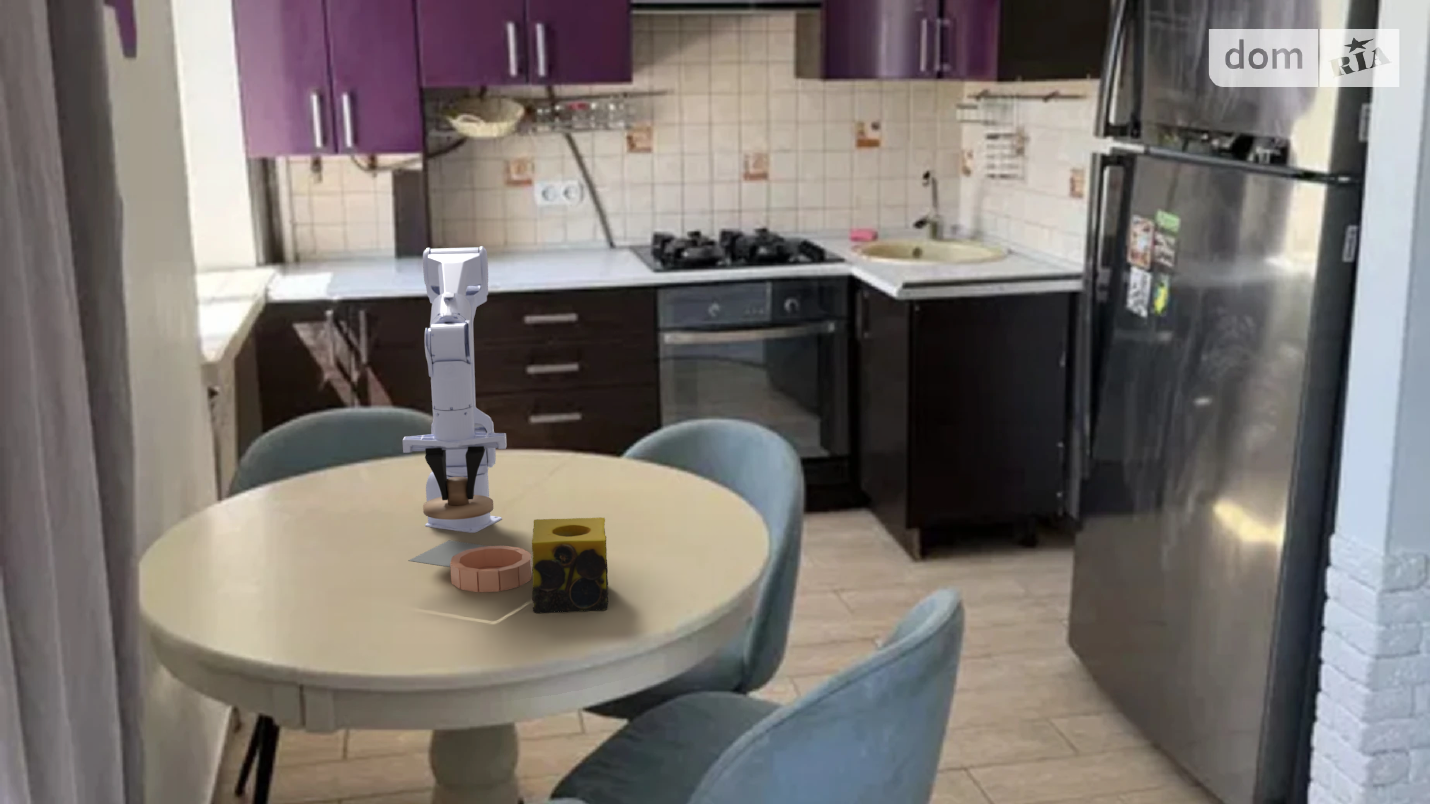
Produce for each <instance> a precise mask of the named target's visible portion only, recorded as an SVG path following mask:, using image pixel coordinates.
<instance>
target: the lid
mask: <svg viewBox="0 0 1430 804" xmlns="http://www.w3.org/2000/svg"><path fill="white" fill-rule="evenodd" d="M446 481H447V498H448V499H447V500H442V497H438V498H434V499H431V500H429V501H427V500H426V502H424V503H423V505H422V508H423V509H422V510H423V511H422V512H423V515H425V517H427V518H428V517H431V518H435V519H446V520H455V519H467V518H474V517H478V516H482V515H485V514H488V513H490V514H491V512H492V511H493V510H494V500H493V499H492V498H491V497H490V496H489V497H486V496H481V495H474V497H473V499H468V495H467V485H468V479H467V478H466V477H451V478H448V479H447V480H446Z"/></svg>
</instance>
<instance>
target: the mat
mask: <svg viewBox="0 0 1430 804" xmlns="http://www.w3.org/2000/svg"><path fill="white" fill-rule="evenodd" d="M484 546H486V545H484V544H477V543H472V542H470V543H469V542H463V541H457V540H452V539H451V540H450V539H449V540H447V541H444V542H442V543H441V544H438V545H436V546H435V547H433V548H430V549H428V550H427V551H425V552H422V553H420V554H419V555H416V556H415V557H412V558H410V559H409V560H408V562H415V563H418V564H419V563H421V564H428V565H432V566H434V565H435V566H440V567H445V568H446V567H447V568H450V562H451V559H452V557H453V556H455V555H457V554H459V553H461V552H463V551H465V550H469V549H474V548H478V547H484Z"/></svg>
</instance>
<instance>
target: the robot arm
mask: <svg viewBox="0 0 1430 804" xmlns="http://www.w3.org/2000/svg"><path fill="white" fill-rule="evenodd" d="M488 262H489V259H488V252H487V249H486V248H485V246H484V245H481V246H479V247H478V246H477V247H474V246H473V247H448V248H446V247H445V248H444V247H443V248H441V247H440V248H431V247H426V249H424V250H423V253H422V270H423V272H422V273H423V280H424V281H423V282H424V285H425V288H426V295H427V297H428V299H429V302H430V304H431V311H430V322H429V327H425V330H424V352H425V359H426V361H427V369H428V376H429V377H430V385H431V387H430V389H431V401H432V402H431V405H432V423H431V425H430V427H431V430H430V431H431V433H430V434H420V435H411V436H410V435H409V436H408V435H407V436H404V437H403V439H402V450H403V451H402V453H403V454H404V453H405V454H406V453H412V452H425V453H424V454H425V455H424V459H425V462H426V463H427V465H428V466H429V468H430V470H431V472H430V473H429V475H428V477H427V480H426V484H425V495H426V496H425V497H426V498H425V499H426V502H427V501H429V500H431V499H434V498H438V497H442V500H447V499H448V498H447V481H446V480H447V479H448V478H451V477H466V478H467V479H468V485H467V495H468V499H473V497H474V495H481V496H486V497H489V498H490V487H489V486H490V485H489V484H490V483H489V468H493V467H494V466H495V464H496V461H497V460H496V459H497V458H496V456H497V454H496V453H497V452H496V449H497V450H506V448H507V445H508V444H507V433H505V432H495V431H494V428H495V427H494V422H493V420H492V417H490V416H489V415H488V414H486V412H483V411H482V410H480V409H479V408H477V405H476V403H477V402H476V377H475V373H476V371H475V370H476V369H475V343H474V342H475V340H474V318H475V315H476V310H477V307H480V305H482V304H485V303H486V302H487V301H488V295H489V263H488ZM429 377H428V378H429ZM502 520H503V518H502V517H501V516H496V515H491V512H490V513H488V514H485V515H482V516H478V517H474V518H467V519H455V520H446V519H435V518H431V517H428V516H427V522H426V523H425V525H424V526H425V527H427V528H433V529H434V528H435V529H443V530H447V531H448V530H449V531H455V532H461V533H462V532H463V533H470V534H474V533H477V532H479V531H481V530H484V529H486V528H488V527H489V526H491V525H494V524H496V523H498V522H500V521H502Z"/></svg>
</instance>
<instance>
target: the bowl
mask: <svg viewBox="0 0 1430 804" xmlns="http://www.w3.org/2000/svg"><path fill="white" fill-rule="evenodd" d="M449 568H450V583H451V584H452V586H455V587H456V588H458V589H459V590H463V591H468V592H475V593H489V592H490V593H492V592H493V593H494V592H503V591H508V590H511V589H515V588H520V587H521V586H523V585H526V583H528V582H530V581H531V580H532V577H533V571H532V568H533V563H532V553H531V552H530V551H527V550H526V549H524V548H523V547H517V546H509V545H485V546H484V547H478V548H474V549H469V550H465V551H463V552H461V553H459V554H457V555H455V556H453V557H452V559H451V562H450V567H449Z"/></svg>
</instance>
